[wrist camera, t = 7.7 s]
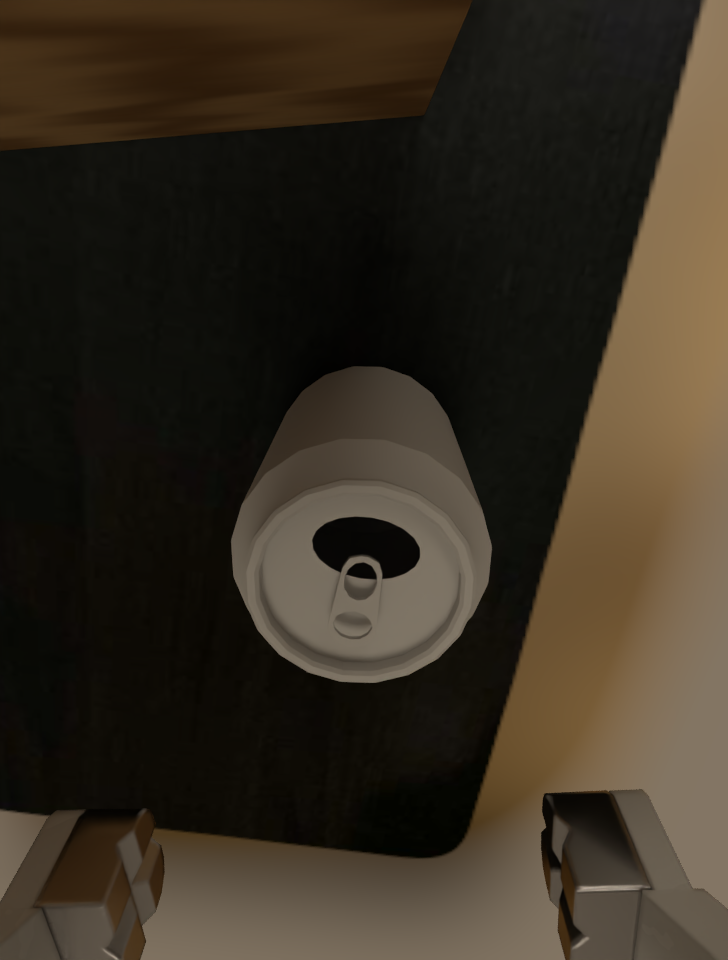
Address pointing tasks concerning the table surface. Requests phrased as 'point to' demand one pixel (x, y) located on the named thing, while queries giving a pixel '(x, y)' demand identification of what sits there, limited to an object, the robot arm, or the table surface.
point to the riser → (213, 65)
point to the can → (362, 531)
